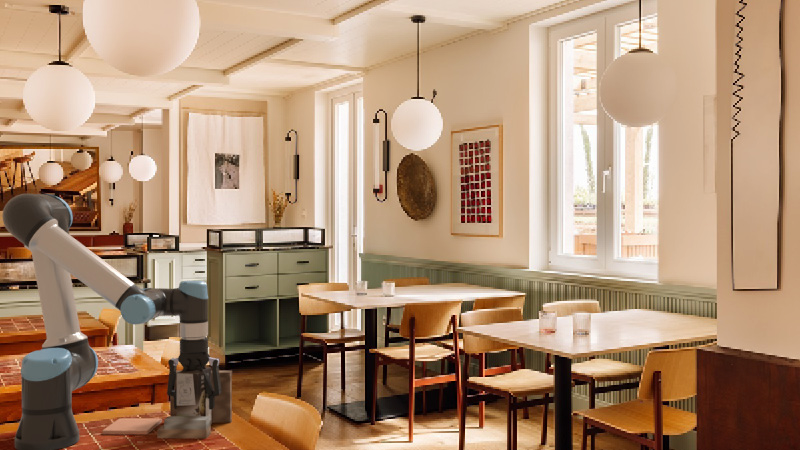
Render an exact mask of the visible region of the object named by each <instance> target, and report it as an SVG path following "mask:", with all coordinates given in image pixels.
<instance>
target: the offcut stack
mask: <svg viewBox="0 0 800 450" xmlns="http://www.w3.org/2000/svg"><path fill="white" fill-rule="evenodd" d="M211 431H212V428H211V425H210V416H167V417H166V418H165V419H164V421H163V425H161V426H160V427H159V428H158V429H157V433H156V436H157V439H207V438H209V437H210V435H211V433H212V432H211Z"/></svg>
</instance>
